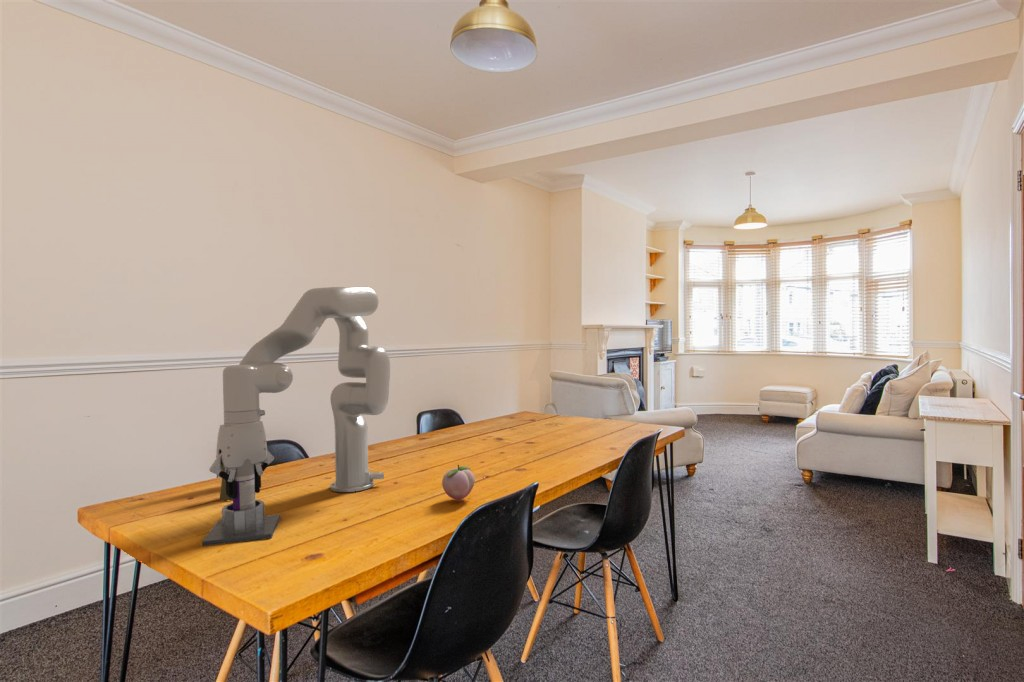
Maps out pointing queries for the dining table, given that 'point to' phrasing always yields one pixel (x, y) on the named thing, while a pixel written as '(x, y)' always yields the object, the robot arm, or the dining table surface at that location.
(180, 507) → the dining table surface
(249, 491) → the container
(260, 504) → the duct collar
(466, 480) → the decorative fruit
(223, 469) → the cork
